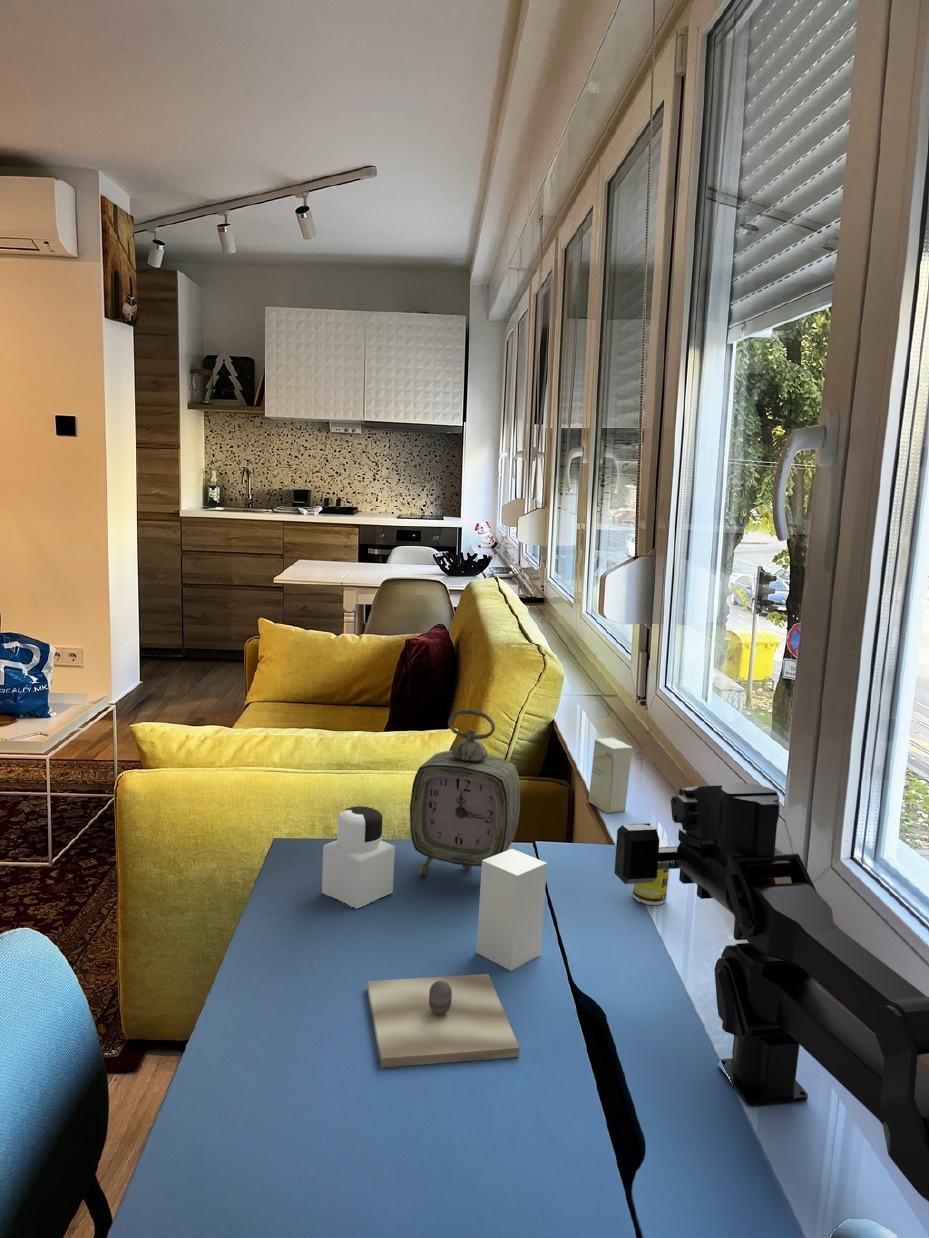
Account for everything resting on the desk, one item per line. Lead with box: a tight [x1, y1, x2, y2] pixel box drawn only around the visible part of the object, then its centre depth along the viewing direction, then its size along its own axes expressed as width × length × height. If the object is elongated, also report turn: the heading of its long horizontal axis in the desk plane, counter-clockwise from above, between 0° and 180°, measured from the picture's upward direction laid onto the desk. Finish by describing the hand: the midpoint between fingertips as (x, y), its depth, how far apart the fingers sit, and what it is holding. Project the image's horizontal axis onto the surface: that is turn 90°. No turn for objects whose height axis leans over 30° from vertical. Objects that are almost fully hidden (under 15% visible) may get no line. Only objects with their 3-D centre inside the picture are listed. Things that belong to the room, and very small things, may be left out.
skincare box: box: [588, 737, 633, 814], centre depth 166 cm, size 6×4×12 cm
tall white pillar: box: [476, 848, 548, 972], centre depth 112 cm, size 6×6×12 cm
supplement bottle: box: [632, 838, 670, 906], centre depth 130 cm, size 5×5×8 cm
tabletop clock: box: [409, 708, 521, 876], centre depth 133 cm, size 14×9×25 cm, turn 73°
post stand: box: [366, 973, 520, 1069], centre depth 98 cm, size 14×14×4 cm
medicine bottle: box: [321, 805, 396, 908], centre depth 126 cm, size 7×7×12 cm
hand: (662, 826), depth 113 cm, fingers open, 9 cm apart
